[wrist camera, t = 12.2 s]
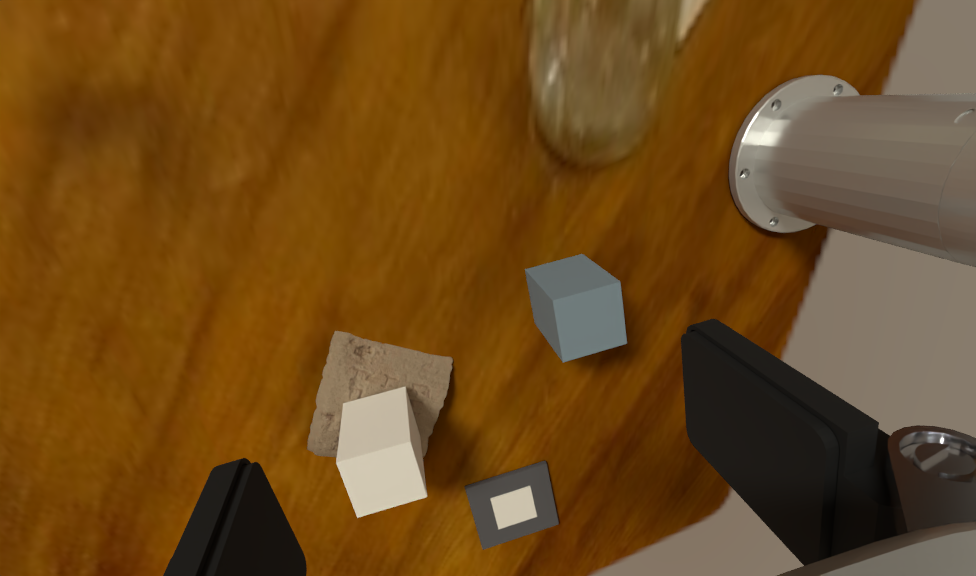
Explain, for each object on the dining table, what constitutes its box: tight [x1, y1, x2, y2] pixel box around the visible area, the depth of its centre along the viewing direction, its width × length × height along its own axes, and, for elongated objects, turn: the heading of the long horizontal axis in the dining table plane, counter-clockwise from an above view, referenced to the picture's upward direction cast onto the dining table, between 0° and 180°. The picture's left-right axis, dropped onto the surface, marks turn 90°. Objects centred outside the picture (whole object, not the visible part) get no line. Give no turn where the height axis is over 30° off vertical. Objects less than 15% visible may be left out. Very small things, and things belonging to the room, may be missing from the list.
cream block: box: [336, 387, 427, 518], centre depth 37 cm, size 5×5×7 cm
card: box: [465, 461, 559, 549], centre depth 48 cm, size 8×8×1 cm
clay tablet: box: [307, 331, 453, 462], centre depth 42 cm, size 14×10×3 cm
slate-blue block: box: [525, 254, 627, 362], centre depth 38 cm, size 5×5×7 cm
